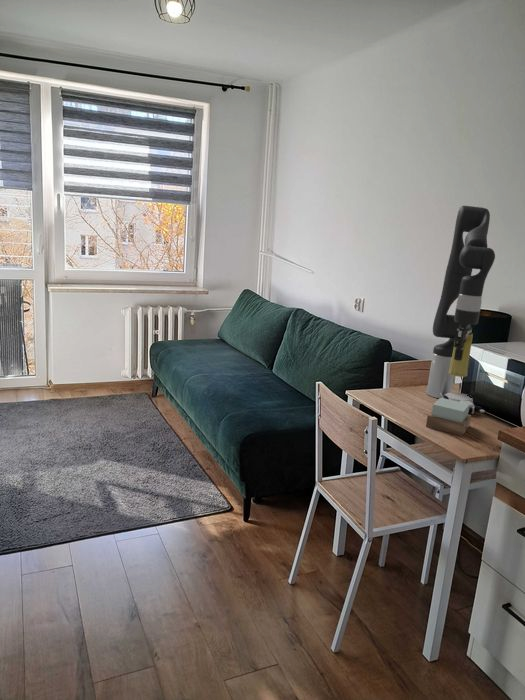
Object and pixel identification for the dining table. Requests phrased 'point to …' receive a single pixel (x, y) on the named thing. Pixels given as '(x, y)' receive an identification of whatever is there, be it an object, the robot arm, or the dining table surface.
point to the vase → (461, 366)
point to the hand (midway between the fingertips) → (459, 358)
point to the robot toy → (463, 401)
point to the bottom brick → (448, 424)
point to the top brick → (450, 410)
